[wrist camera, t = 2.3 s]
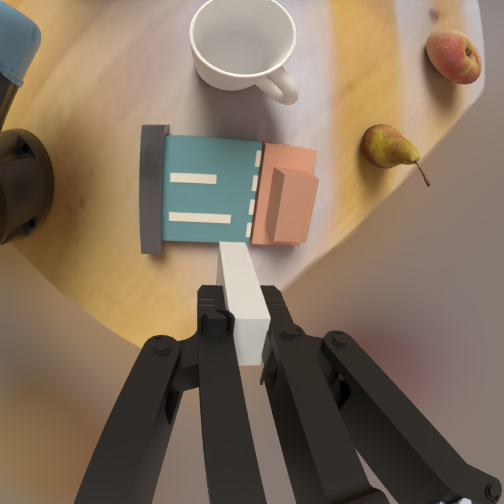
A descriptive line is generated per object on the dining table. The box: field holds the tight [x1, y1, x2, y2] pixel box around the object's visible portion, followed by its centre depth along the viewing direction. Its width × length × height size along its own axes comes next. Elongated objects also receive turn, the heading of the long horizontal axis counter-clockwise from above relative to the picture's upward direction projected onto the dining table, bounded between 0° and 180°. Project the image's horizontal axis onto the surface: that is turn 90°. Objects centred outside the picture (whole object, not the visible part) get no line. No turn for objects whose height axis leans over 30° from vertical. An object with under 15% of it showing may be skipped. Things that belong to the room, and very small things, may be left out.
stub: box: [250, 142, 319, 246], centre depth 30 cm, size 6×12×6 cm, turn 173°
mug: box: [189, 0, 299, 105], centre depth 21 cm, size 12×8×10 cm
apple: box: [426, 29, 481, 84], centre depth 22 cm, size 9×9×8 cm
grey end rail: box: [139, 125, 169, 254], centre depth 28 cm, size 2×14×3 cm, turn 173°
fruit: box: [362, 124, 430, 186], centre depth 26 cm, size 6×6×12 cm
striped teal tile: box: [139, 135, 262, 244], centre depth 30 cm, size 13×12×2 cm
